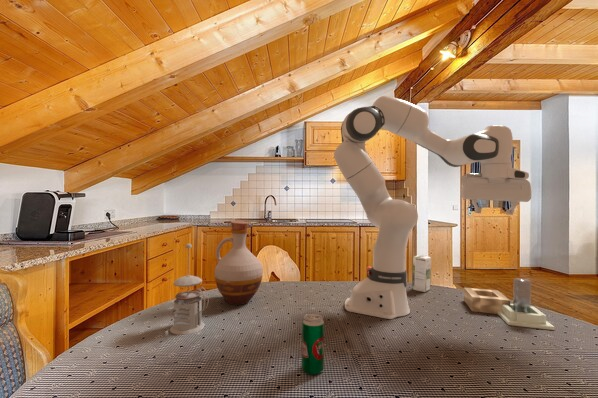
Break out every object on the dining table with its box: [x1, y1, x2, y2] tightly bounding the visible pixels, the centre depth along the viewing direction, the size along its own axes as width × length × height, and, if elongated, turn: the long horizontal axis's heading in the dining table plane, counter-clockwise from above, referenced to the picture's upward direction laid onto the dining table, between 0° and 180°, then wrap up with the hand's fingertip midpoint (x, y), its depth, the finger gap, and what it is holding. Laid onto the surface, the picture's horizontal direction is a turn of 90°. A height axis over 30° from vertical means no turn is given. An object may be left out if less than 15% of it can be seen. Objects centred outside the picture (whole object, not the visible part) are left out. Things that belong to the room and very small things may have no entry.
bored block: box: [463, 287, 511, 315], centre depth 107 cm, size 12×12×5 cm
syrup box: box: [411, 254, 432, 293], centre depth 127 cm, size 6×6×14 cm
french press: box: [169, 243, 210, 336], centre depth 87 cm, size 10×12×25 cm
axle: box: [512, 277, 532, 313], centre depth 96 cm, size 4×4×12 cm
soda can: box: [301, 313, 325, 376], centre depth 67 cm, size 5×5×12 cm
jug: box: [214, 220, 264, 306], centre depth 111 cm, size 20×18×30 cm
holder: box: [497, 303, 555, 331], centre depth 96 cm, size 12×12×4 cm
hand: (493, 213), depth 101 cm, fingers open, 8 cm apart
